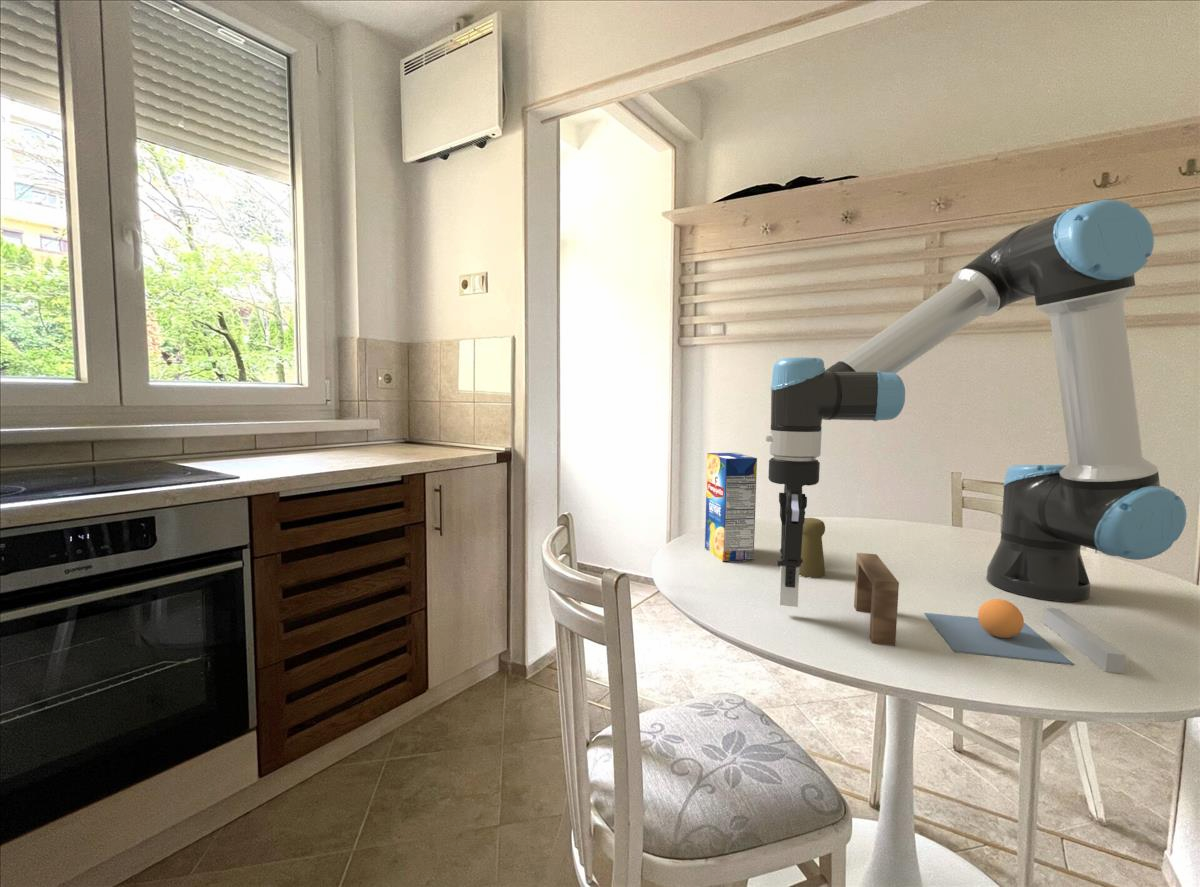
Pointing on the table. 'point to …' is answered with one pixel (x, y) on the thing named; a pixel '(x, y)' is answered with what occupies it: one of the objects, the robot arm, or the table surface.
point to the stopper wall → (1085, 641)
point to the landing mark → (994, 640)
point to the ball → (1000, 618)
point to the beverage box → (730, 506)
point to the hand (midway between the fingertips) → (788, 604)
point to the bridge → (877, 597)
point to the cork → (812, 549)
